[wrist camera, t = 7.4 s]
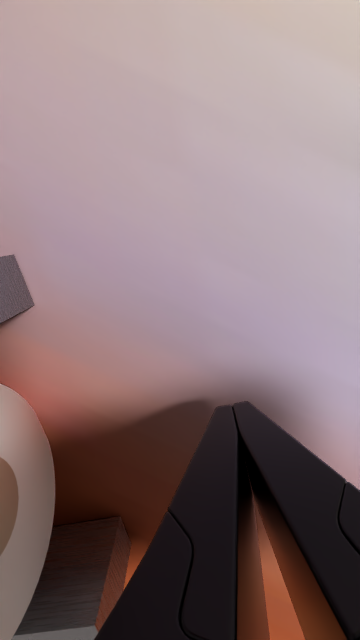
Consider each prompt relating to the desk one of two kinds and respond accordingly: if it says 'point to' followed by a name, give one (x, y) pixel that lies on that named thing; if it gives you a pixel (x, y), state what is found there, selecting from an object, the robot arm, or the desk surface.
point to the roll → (22, 506)
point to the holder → (69, 542)
